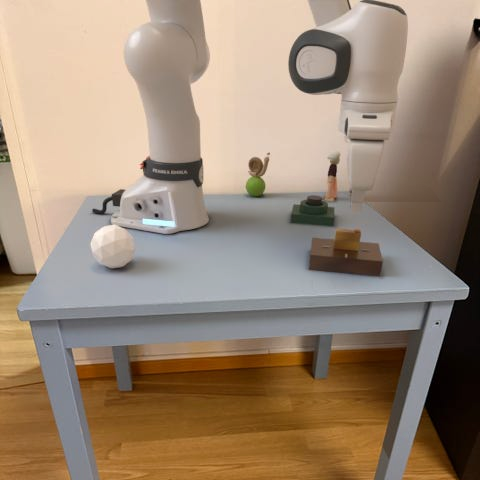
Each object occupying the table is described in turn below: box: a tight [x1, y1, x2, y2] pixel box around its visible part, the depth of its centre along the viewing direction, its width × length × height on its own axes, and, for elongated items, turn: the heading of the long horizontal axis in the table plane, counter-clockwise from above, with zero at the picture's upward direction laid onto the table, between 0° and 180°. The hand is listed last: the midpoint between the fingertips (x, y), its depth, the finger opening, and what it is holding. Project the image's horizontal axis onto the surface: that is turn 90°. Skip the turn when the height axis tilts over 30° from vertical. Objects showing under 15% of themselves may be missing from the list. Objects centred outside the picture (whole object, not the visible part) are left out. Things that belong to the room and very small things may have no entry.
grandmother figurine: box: [324, 150, 341, 203], centre depth 122 cm, size 8×4×13 cm, turn 179°
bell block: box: [290, 199, 335, 227], centre depth 109 cm, size 10×8×4 cm
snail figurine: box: [245, 151, 271, 197], centre depth 123 cm, size 5×6×12 cm
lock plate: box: [308, 237, 384, 277], centre depth 87 cm, size 13×9×3 cm
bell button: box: [306, 194, 323, 206], centre depth 108 cm, size 4×4×2 cm
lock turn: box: [334, 228, 362, 251], centre depth 85 cm, size 5×1×4 cm, turn 80°
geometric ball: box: [89, 224, 136, 270], centre depth 82 cm, size 8×8×8 cm
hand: (354, 203), depth 82 cm, fingers open, 8 cm apart
